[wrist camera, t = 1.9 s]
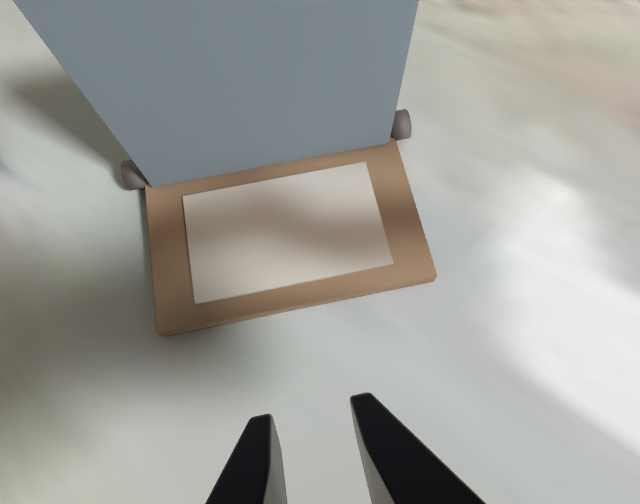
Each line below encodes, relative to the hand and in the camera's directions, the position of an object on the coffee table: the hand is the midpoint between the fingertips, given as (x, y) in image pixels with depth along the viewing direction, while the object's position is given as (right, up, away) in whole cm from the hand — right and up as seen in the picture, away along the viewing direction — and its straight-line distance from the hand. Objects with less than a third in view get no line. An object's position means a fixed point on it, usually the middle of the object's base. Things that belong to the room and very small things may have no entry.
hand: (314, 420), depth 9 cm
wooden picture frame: (-2, +5, +16) cm, 17 cm away
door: (-3, +9, +17) cm, 19 cm away
